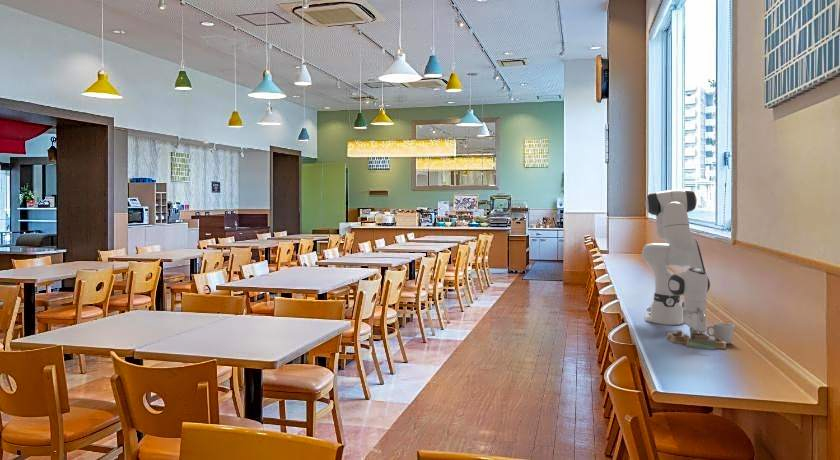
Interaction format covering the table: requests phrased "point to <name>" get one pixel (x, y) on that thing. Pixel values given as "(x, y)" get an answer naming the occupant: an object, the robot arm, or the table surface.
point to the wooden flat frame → (696, 341)
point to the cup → (722, 331)
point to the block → (698, 336)
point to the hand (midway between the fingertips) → (693, 338)
